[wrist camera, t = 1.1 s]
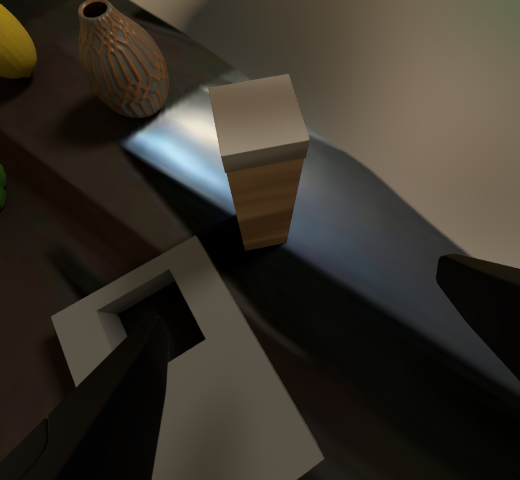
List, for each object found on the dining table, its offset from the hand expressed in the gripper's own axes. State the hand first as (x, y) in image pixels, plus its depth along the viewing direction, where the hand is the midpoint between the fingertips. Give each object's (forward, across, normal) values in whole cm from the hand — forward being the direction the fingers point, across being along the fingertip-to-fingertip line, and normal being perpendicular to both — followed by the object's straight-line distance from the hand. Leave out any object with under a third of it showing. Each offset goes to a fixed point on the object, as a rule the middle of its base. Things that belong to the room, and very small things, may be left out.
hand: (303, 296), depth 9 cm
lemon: (+31, +21, -12) cm, 39 cm away
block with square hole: (+8, +7, +11) cm, 16 cm away
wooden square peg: (+15, 0, +4) cm, 16 cm away
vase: (+26, +9, -7) cm, 29 cm away
